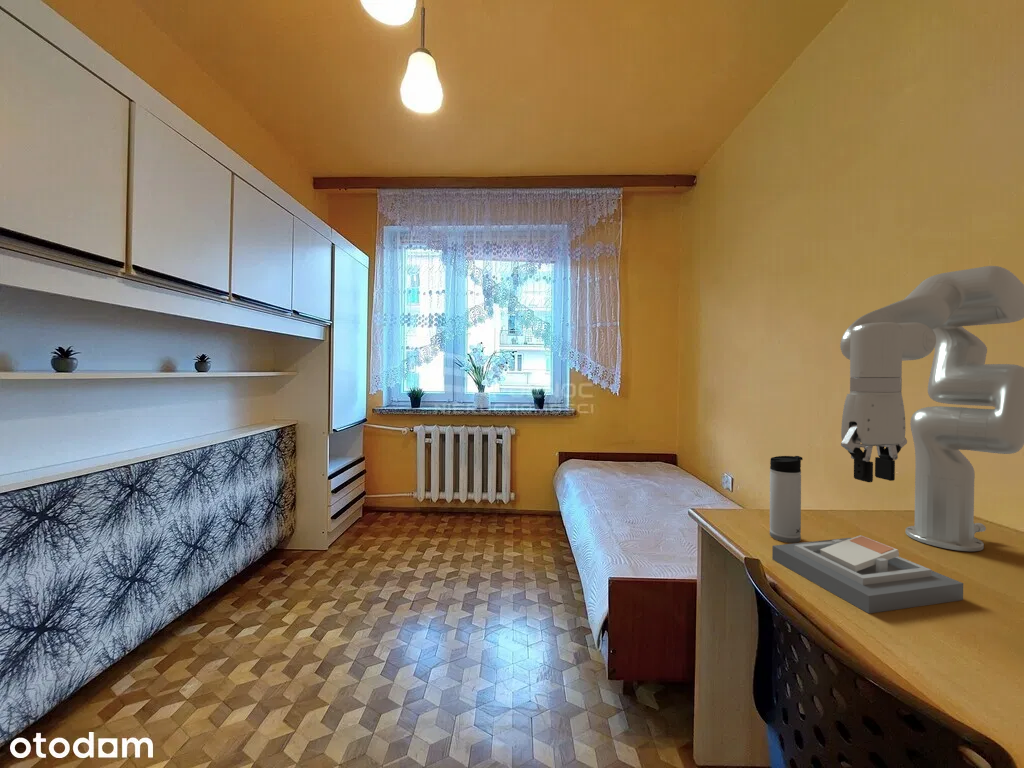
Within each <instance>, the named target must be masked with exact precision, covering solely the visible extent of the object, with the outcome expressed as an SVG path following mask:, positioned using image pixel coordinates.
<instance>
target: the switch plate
mask: <svg viewBox="0 0 1024 768" xmlns="http://www.w3.org/2000/svg"><path fill="white" fill-rule="evenodd" d="M851 538H852V537H844V538H843V537H842V538H833V539H824V540H814V541H804V542H797V543H787V544H786V543H785V544H778V545H777V544H776V545H772V557H771V558H772V560H773V561H774V560H775V561H774V562H776V561H777V563H778V564H780V565H781V566H783V567H785V568H787V569H789V570H790V571H792V572H794V573H795V574H798V575H800V576H801V577H803V578H805V580H808V581H810V582H811V583H813V584H815V585H817V586H819V587H820V588H823V589H824V590H826V591H828V592H830V593H832V594H833V595H835V596H836V597H839V598H840V599H842V600H844V601H846V602H847V603H848V604H851V605H853V606H855V607H856V608H858V609H860V610H861V611H863V612H865V613H867V614H873V613H874V614H875V613H882V612H888V611H889V612H890V611H896V610H903V609H910V608H917V607H923V606H929V605H936V604H937V605H938V604H939V605H940V604H944V603H951V602H952V603H953V602H960V601H964V583H963V582H961V581H959V580H956V579H954V578H952V577H950V576H946V575H944V574H942V573H940V572H936V571H934V570H932V569H931V568H928V567H925V566H923V565H921V564H918V563H915V562H913V561H911V560H909V559H906V558H904V557H901V556H900V555H899V556H897V557H894V558H892V559H889V560H887V559H884V558H879V559H876V565H873V566H870V567H867V568H865V569H862V570H859V571H857V572H855V571H853V570H851V569H849V568H847V567H845V566H843V565H841V564H839V563H836V562H834V561H832V560H830V559H828V558H826V557H824V556H822V555H821V553H820V549H823V548H825V547H828V546H831V545H834V544H837V543H840V542H842V541H845V540H848V539H851Z"/></svg>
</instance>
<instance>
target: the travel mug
mask: <svg viewBox="0 0 1024 768" xmlns="http://www.w3.org/2000/svg"><path fill="white" fill-rule="evenodd" d="M769 460H770V461H769V464H770V465H769V536H770V537H771V538H772V537H773V538H772V539H774V540H776V541H780V542H783V543H787V544H794V543H800V541H801V539H802V538H801V537H802V535H801V533H802V531H801V529H802V528H801V527H802V522H801V521H802V520H801V519H802V516H801V515H802V470H801V467H802V463H801V462H802V461H803V457H802V456H799V455H778V456H773V457H771V458H770V459H769Z"/></svg>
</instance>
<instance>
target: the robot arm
mask: <svg viewBox="0 0 1024 768" xmlns="http://www.w3.org/2000/svg"><path fill="white" fill-rule="evenodd" d="M1023 319H1024V283H1023V282H1022V281H1021V280H1020V279H1019V278H1018V277H1017V276H1016V275H1015V274H1014V273H1013V272H1011V270H1009V269H1007V268H1004V267H1002V266H999V265H987V266H980V267H973V268H968V269H961V270H955V271H947V272H942V273H938V274H934V275H931V276H929V277H927V278H926V279H924V280H923V281H921V282H920V283H919V284H918V285H917V286H916V287H915V288H914V289H913V290H912V291H911V292H910V293H908V295H907V296H906V297H904V299H901V300H898V301H896V302H893V303H890V304H888V305H886V306H884V307H880V308H878V309H875V310H873V311H870V312H868V313H866V314H864V315H862V316H859V317H858V318H857V319H856V320H854V322H852V324H850V325H849V326H848V328H847V329H846V330H845V331H844V332H843V334H842V336H841V339H840V345H839V346H840V347H839V348H840V350H841V351H840V352H841V353H842V355H843V356H844V358H846V359H848V360H849V393H846V397H845V401H844V405H843V410H842V416H841V417H842V418H841V429H840V430H841V431H840V434H841V440H842V441H841V442H840V446H841V447H842V448H844V449H845V450H846V451H847V452H848V453H849V455H850V458H851V459H852V460H853V479H854V480H859V481H861V482H866V483H873V481H874V476H875V477H876V478H878V479H882V480H886V481H891V482H894V481H895V475H896V461H897V460H898V458H899V457H898V454H899V453H900V452H901V449H902V448H903V447H905V446H906V445H907V444H908V440H907V438H906V413H905V412H906V411H905V405H904V404H905V403H904V399H903V395H902V390H903V389H902V387H903V386H902V385H903V384H902V382H903V381H902V380H903V379H902V373H903V371H902V370H903V367H902V366H903V364H902V363H903V361H917V360H921V359H923V358H926V357H927V356H929V355H930V354H931V353H932V352H933V351H934V355H933V359H932V363H931V368H930V372H929V373H930V374H929V378H928V381H927V382H928V383H927V384H928V385H927V395H928V396H929V398H930V399H931V400H932V401H934V402H938V403H941V404H946V405H958V406H959V405H960V406H959V407H957V406H937V405H936V406H927V407H921V408H919V409H917V410H916V411H914V412H913V413H912V415H911V417H910V423H909V424H910V431H911V435H912V441H913V444H914V446H913V447H914V456H915V471H914V474H915V475H914V485H915V486H914V525H910V526H907V527H906V528H905V534H906V535H907V536H908V537H909V538H911V539H913V540H915V541H917V542H919V543H923V544H925V545H926V544H927V545H930V546H934V547H936V548H937V547H938V548H942V549H947V550H952V551H958V552H979V551H982V550H984V548H985V547H984V545H985V544H984V542H983V541H982V540H980V539H978V538H976V537H975V534H977V533H980V532H981V533H982V532H986V530H987V528H986V525H984V524H983V523H981V522H975V521H974V519H975V518H974V517H975V516H974V515H975V512H974V511H975V478H976V477H975V473H976V472H975V469H974V465H973V464H972V463H971V462H970V460H969V459H968V458H967V457H966V456H965V455H964V454H963V452H961V451H973V452H979V453H980V452H981V453H991V454H1000V455H1001V454H1002V455H1011V454H1015V453H1017V452H1020V450H1022V448H1023V447H1024V366H1021V365H1018V364H1011V363H991V364H990V363H989V364H987V363H986V358H987V353H988V347H987V345H986V344H985V342H984V341H982V340H981V338H979V337H978V336H977V335H975V334H974V333H972V332H971V331H969V330H967V329H966V328H965V327H969V326H970V327H971V326H984V325H998V324H999V325H1000V324H1009V323H1015V322H1018V321H1022V320H1023ZM961 406H962V407H961ZM963 406H977V408H974V407H963ZM978 406H979V407H994V408H993V409H991V408H978ZM873 447H876V451H877V456H876V457H875V458H874V462H873V461H871V458H872V452H873ZM861 448H863V450H862V449H861ZM974 522H975V523H974Z"/></svg>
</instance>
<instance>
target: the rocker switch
mask: <svg viewBox="0 0 1024 768" xmlns="http://www.w3.org/2000/svg"><path fill="white" fill-rule="evenodd" d="M850 538H851V539H848V540H845V541H842V542H840V543H837V544H834V545H831V546H828V547H825V548H823V549H820V553H821V555H822V556H824V557H826V558H828V559H830V560H832V561H834V562H836V563H839V564H841V565H843V566H845V567H847V568H849V569H851V570H853V571H855V572H857V571H859V570H862V569H865V568H867V567H870V566H873V565H876V559H879V558H884V559H887V560H889V559H892V558H894V557H897V556H899V557H900V553H899V549H897V548H894V547H893V546H889V545H887V544H885V543H882V542H879V541H876V540H874V539H871V538H869V537H867V536H863V535H861V534H860V535H857V536H854V537H850Z"/></svg>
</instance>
